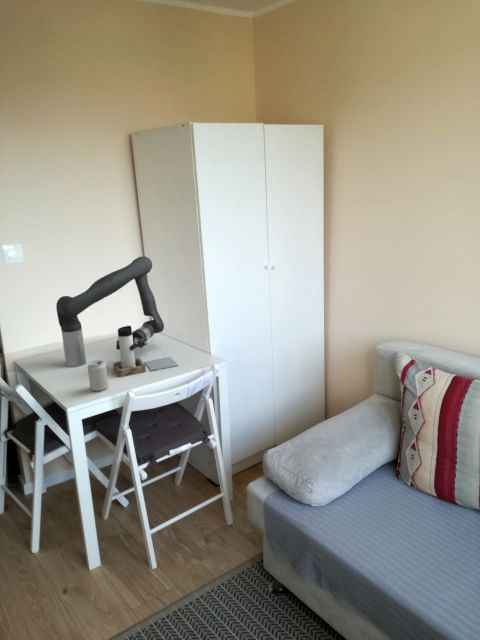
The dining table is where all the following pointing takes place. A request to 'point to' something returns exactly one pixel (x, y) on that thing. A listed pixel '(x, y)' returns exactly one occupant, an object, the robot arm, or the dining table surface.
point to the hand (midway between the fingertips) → (124, 347)
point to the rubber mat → (161, 364)
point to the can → (98, 375)
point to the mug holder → (129, 370)
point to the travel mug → (126, 347)
